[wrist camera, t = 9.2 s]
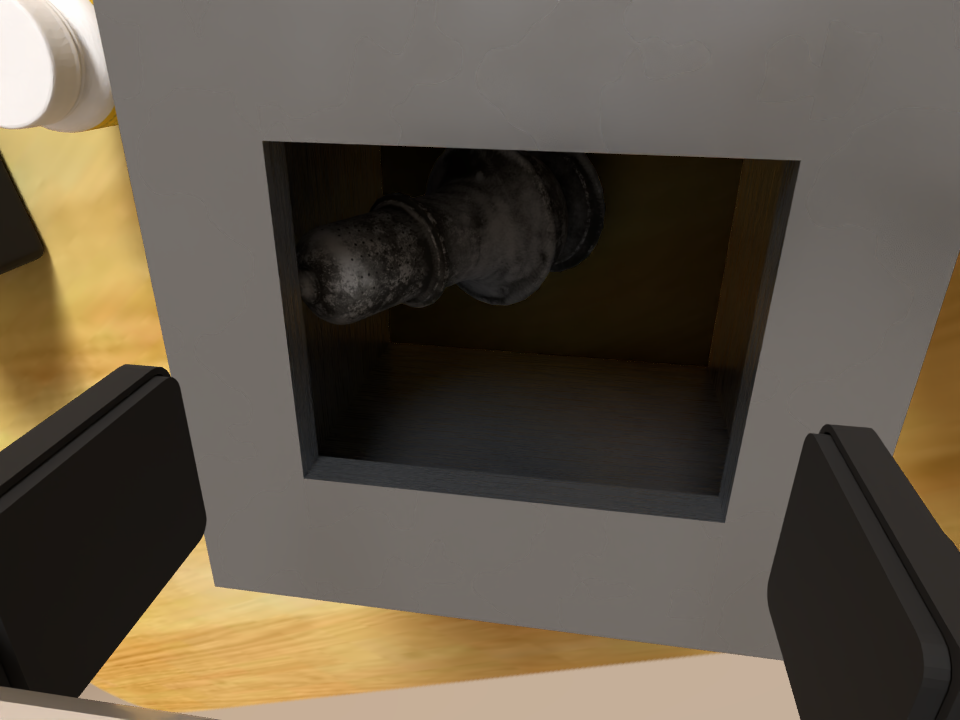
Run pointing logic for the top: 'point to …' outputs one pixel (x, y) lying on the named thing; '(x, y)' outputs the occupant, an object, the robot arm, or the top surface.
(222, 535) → the grey hollow block
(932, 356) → the top surface
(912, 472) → the top surface
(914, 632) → the robot arm
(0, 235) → the battery
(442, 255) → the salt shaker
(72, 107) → the supplement bottle
